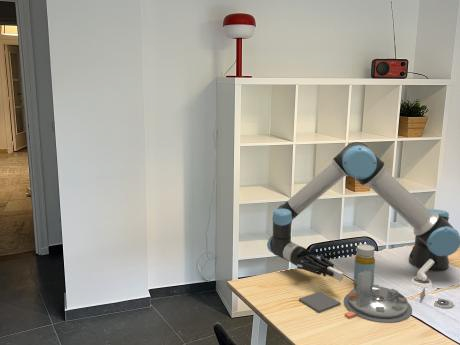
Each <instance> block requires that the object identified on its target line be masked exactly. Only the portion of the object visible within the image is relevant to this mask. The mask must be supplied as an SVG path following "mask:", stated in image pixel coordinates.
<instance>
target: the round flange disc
mask: <svg viewBox="0 0 460 345" xmlns="http://www.w3.org/2000/svg"><path fill="white" fill-rule="evenodd" d="M371 274H372V272H370V271H364V272H361V273H358V278H357V286H354V287H353V288H352V289H351V290H350V291H349V292H348V294H349V297H348V302H349V305H350V306H351V307H352V308H353V309H354V310H356V311H357V312H359V313H362V314H364V315H367V316H370V317H375V318H383V319H390V318H397V317H400V316H402V315H404V314H405V313H406V312H407V308H408V303H409V302H408V300H407V297H405V296H404V295H403V294H402V293H400V292H399V291H398V290H396V289H395V288H388V287H384V286H380V284H373V285H372V286H371Z"/></svg>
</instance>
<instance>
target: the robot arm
mask: <svg viewBox="0 0 460 345" xmlns="http://www.w3.org/2000/svg"><path fill="white" fill-rule="evenodd" d="M345 177H351V178H353V179H355V180H356V182H358V183H359V184H360V185H361V186H368V187H369V188H370V189H372V190H373V191H374V193H376V194H377V195H378V196H379V197H380V198H381V199H382V200H383V201H384V202H385V203H386V204H387V205H388V206H390V207H391V208H392V210H394V211H395V212H396V213H397V214H398V215H399V216H400V217H401V218H402V219H404V221H406V222H407V223H408V224H409V225H410V226H411V227H412V228H413V234H414V235H415V237H414V238H415V239H414V245H413V247H412V248H411V251H410V253H409V255H408V256H409V257H408V262H409V264H410V263H411V265H412V266H413V265H414V267H415V266H416V267H415V268H419V269H421V268H422V266H423V265H424V264H425V263H426V262H427V261H428V260H429V259H432V260H433V261H434V264H433V265H432V266H431V267H430V268H429V270H428V271H431V270H432V271H433V272H438V271H439V272H440V271H445V270H448V269H449V265H450V261H449V256H451V255H453V254H455V253H456V252H457V251H458V249H459V248H460V233H459V232H458V230H457V229H455V228H454V227H453V225H451V224H450V222H449V219H450V217H449V215H450V213H449V212H448V211H447V210H442V209H436V208H427V207H426V206H425V205H424V204H423V203H421V202H420V201H419V200H418V199H417V198H416V196H414V195H413V194H412V193H411V192H410V191H409V190H408V189H407V188H405V186H404V185H402V184H401V183H400V182H399V181H398V180H397V179H396V178H395V177H394V176H393V175H392V174H391V173H390V172H388V171H387V170H386V163H385V162H384V161H382V159H381V158H380V157H379V156H377V154H375V153H374V152H373V151H372V150H371V148H370V147H369V146H368V145H367V144H365V143H363V142H361V141H353V142H351V143H348V144H347V145H346V146H345V147H344V148H343V149H342V150H341V151H340V152H338V153H337V155H336V156H334V157H333V158H332V162H331V163H330V164H328V166H326V168H324V169H323V170H322V171H320V172H319V173H318V174H317V175H316V176H315V177H314V178H312V179H311V180H310V181H309V182H308V183H306V184H305V185H304V186H303V187H302V188H300V190H299V191H298V192H296V193H295V194H294V195H292V196H291V197H290V198H289V199H288V200H287V201H285V203H282V204H280V205H279V206H277V208H276V209H274V210H273V212H272V218H271V219H272V220H271V221H272V236H270V237H269V239H268V241H267V243H266V246H267V249H268V251H269V252H271V254H273V255H275V257H279V258H281V259H283V260H286V261H287V262H289V263H290V264H293V265H295V266H296V268H297V269H299V270H303V271H306V272H309V273H312V274H315V275H318V276H322V275H323V276H322V277H327V276H329V277H331V278H333V279H335V280H337V281H339V282H343V281H344V277H345V276H344V274H345V273H344V272H342V271H340V270H339V269H336V268H335V264H334V263H333V262H332V261H330V260H329V259H327V258H326V257H324V255H323V254H320V255H319V256H317V255H316V254H312V253H311V252H310V250H309V249H308V248H306V247H303V246H301V245H299V244H298V243H297V244H296V243H295V242H293V241H292V225H293V223H292V222H293V220H294V219H295V218H296V217H298V216H299V215H300V214H301V213H303V211H305V210H306V209H307V208H309V207H310V206H311V205H312V204H313V203H314V202H316V201H317V200H318V199H320V198H321V197H322V196H323V195H324V194H326V192H328V191H329V190H330V189H331V188H332V187H334V186H335V185H336V184H337V183H338V182H340V181H341V180H342V179H343V178H345Z"/></svg>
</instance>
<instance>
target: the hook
mask: <svg viewBox="0 0 460 345" xmlns="http://www.w3.org/2000/svg"><path fill="white" fill-rule="evenodd" d="M433 264H434V261H433V260H432V259H429V260H428V261H427V262H426V263H425V264H424V265H423V266H422V268H419V270H418V271H417V272H416V276H414V277H412V278H411V280H410V281H411V283H412V284H413V285H414V287H415V286H417V287H416V288H418V287H421V288H420V289H422V288H428V289H430V288H429V287H431V288H432V287H433V283H432V280H431V279H429V278H428V276H427V274H426V273H427V272H428V271H430V270H429V268H430V267H431V266H432V265H433ZM418 281H422V282H426V281H428V282H429V283H428V282H426V283H422V282H418ZM411 283H410V284H411ZM412 284H411V285H412ZM413 285H412V286H413Z"/></svg>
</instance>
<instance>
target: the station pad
mask: <svg viewBox="0 0 460 345" xmlns="http://www.w3.org/2000/svg"><path fill="white" fill-rule="evenodd" d="M298 301H299V302H300V303H301V304H303V305H306V306H307V307H309V309H312V310H313V311H315V312H317V313H318V314H320V313H322V312H326V311H329V310H331V309H333V308H336V307H339V306H341V305H342V302H340V301H339V300H337V299H335V298H334V297H332V296H329V295H328V294H326V293H325V292H323V291H320V290H319V291H316V292H313V293H312V294H309V295H306V296H302V297H300V298H299V299H298Z"/></svg>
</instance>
